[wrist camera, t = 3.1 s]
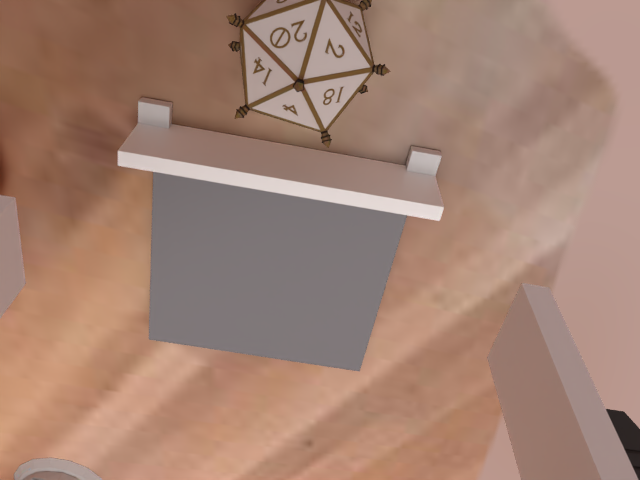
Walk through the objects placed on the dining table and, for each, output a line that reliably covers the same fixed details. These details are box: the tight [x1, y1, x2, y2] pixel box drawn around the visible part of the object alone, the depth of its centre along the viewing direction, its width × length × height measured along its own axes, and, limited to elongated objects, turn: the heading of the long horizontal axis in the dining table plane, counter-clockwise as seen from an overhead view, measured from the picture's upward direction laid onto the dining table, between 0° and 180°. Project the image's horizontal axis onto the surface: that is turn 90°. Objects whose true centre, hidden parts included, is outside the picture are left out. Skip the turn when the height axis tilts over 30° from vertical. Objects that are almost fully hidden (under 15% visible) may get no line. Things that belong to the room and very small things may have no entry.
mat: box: [149, 172, 407, 371], centre depth 46 cm, size 18×18×1 cm
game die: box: [227, 0, 390, 148], centre depth 32 cm, size 9×8×10 cm
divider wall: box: [118, 97, 444, 221], centre depth 38 cm, size 4×20×5 cm, turn 80°
